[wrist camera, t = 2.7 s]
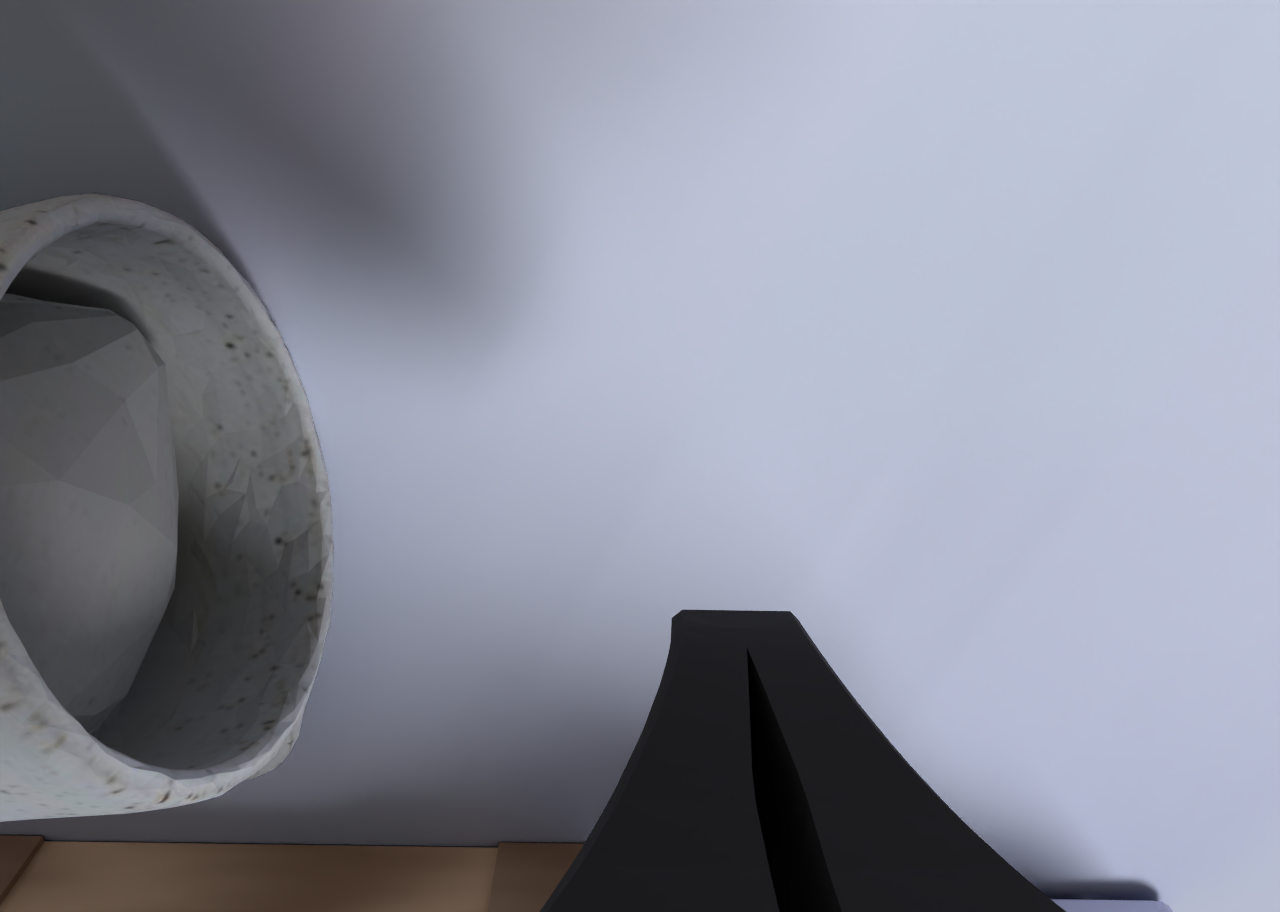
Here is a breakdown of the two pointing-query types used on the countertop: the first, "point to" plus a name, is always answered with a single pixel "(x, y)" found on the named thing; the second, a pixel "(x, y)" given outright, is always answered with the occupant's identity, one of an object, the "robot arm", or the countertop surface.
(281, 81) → the countertop surface
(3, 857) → the cedar frame
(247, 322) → the ceramic mug
